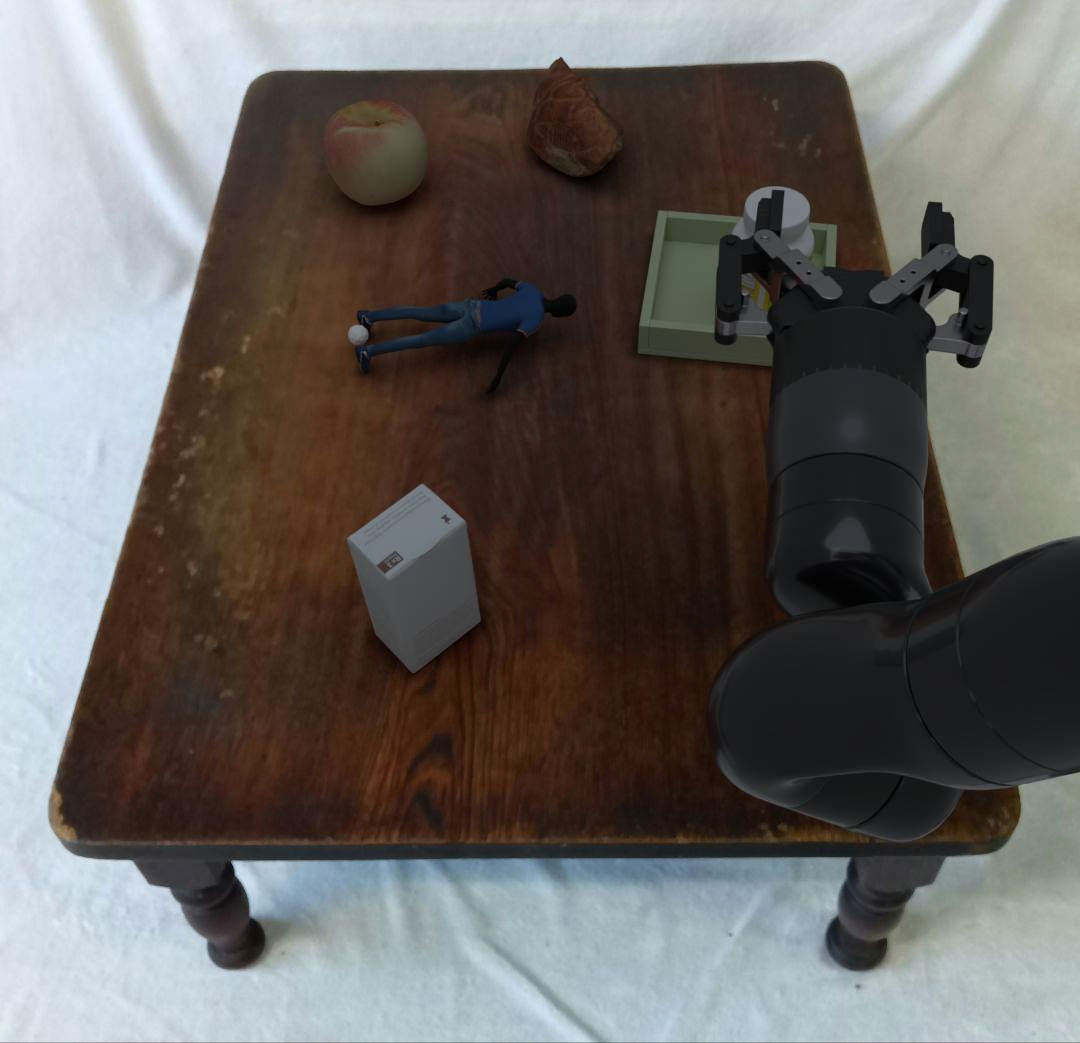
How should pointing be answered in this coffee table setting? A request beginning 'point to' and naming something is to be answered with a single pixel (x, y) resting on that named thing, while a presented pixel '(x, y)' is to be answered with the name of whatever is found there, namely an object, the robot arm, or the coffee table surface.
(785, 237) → the pill bottle
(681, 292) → the tray
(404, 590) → the cosmetic box
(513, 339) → the person figurine
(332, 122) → the apple
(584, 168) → the fossil
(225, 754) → the coffee table surface
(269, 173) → the coffee table surface
